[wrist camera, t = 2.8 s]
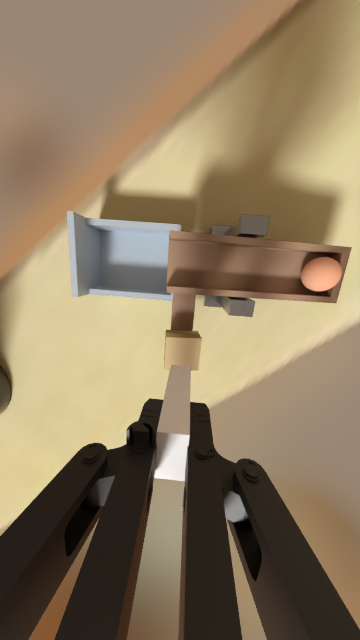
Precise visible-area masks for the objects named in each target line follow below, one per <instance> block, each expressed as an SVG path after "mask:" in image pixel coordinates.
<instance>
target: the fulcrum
mask: <svg viewBox="0 0 360 640" xmlns="http://www.w3.org/2000/svg"><path fill="white" fill-rule="evenodd" d="M268 222H269V216H260V215H246V214H243V215H242V216H241V217H240V218H239V219H238V220H237V221H236V222H235V223H234V224H233V225H232V226H220V225H212V232H211V234H216V235H226V236H237V237H247V238H258V239H259V238H261V237H263V236H265V235H266V234H267V228H268ZM254 305H255V301H253V300H251V299H249V298H246V297H230V296H214V295H205V299H204V306H211V307H222V308H223V309H224V310H225V311H226V312H227V314H228V315H234V316H247V317H252V316H253V310H254Z"/></svg>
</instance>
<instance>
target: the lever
mask: <svg viewBox="0 0 360 640" xmlns="http://www.w3.org/2000/svg"><path fill="white" fill-rule="evenodd" d="M351 248H352V247H341V246H331V245H320V244H310V243H299V242H289V241H279V240H268V239H258V238H247V237H237V236H226V235H216V234H205V233H195V232H184V231H174V230H170V233H169V247H168V265H167V283H166V292H167V293H173V304H172V319H171V330H166V337H165V354H164V370H170V368H171V365H182V366H191V369H190V370H198V367H199V358H200V349H201V339H202V338H201V337H200V335H199V333H198V331H192V329H193V319H194V308H195V297H196V294H198V295H214V296H230V297H246V298H261V299H277V300H293V301H309V302H325V303H336V302H337V299H338V295H339V291H340V288H341V284H342V280H343V277H344V273H345V270H346V266H347V262H348V259H349V255H350V251H351ZM319 257H329V258H332V259H334V260H336V261H337V262H338V263H339V264H340V266H341V268H342V276H341V279H340V280H339V282H338V283H337V284H336V285H335V286H334V287H332V288H330V289H328V290H325V291H313V290H310V289H308V288H306V287H305V286H304V284H303V283H302V281H301V272H302V270H303V268H304V266H305V265H306V264H307V263H308V262H310V261H311V260H313V259H316V258H319Z"/></svg>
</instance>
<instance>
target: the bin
mask: <svg viewBox="0 0 360 640" xmlns="http://www.w3.org/2000/svg"><path fill="white" fill-rule="evenodd" d="M67 221H68V237H69V252H70V268H71V284H72V296H76V297H79V296H83V295H87V294H93V295H106V296H118V297H131V298H143V299H156V300H168V301H173V293H167V292H166V283H167V265H168V247H169V233H170V230H174V231H182V227H181V224H167V223H152V222H138V221H124V220H110V219H95V218H85V217H83V216H81V215H79V214H77V213H75V212H70V211H67Z"/></svg>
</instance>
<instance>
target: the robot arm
mask: <svg viewBox="0 0 360 640" xmlns="http://www.w3.org/2000/svg"><path fill="white" fill-rule="evenodd" d="M190 369H191V366H182V365H171V368H170V373H169V377H168V382H167V387H166V391H165V396H164V400H159V399H149V400H148V401H147V402H146V403H145V404H144V406H143V409H142V412H141V415H140V418H139V420H138V421H137V422H134V423H133V424H131V425H130V426H129V427H128V429H127V444H126V445H124V446H122V447H119V448H115V449H110V450H107V448H106V446H104V445H103V444H101V443H92V444H88V445H86V446H84V447H83V448H82V449H80V450H79V451H78V452H77V453H76V454H75V456H74V457H73V458H72V459H71V460H70V461H69V462H68V463H67V464H66V465H65V466H64V468H63V469H62V470H61V471H60V472H59V473H58V474H57V475H56V476H55V477H54V478H53V480H52V481H51V482H50V483H49V484H48V485H47V486H46V487H45V488H44V489H43V490H42V492H41V493H40V494H39V495H38V496H37V497H36V498H35V499H34V500H33V501H32V502H31V504H30V505H29V506H28V507H27V508H26V509H25V510H24V511H23V512H22V513H21V514H20V516H19V517H18V518H17V519H16V520H15V521H14V522H13V523H12V524H11V525H10V526H9V528H8V529H7V530H6V531H5V532H4V533H3V534H2V535H1V536H0V640H28V639H29V637H30V636H31V634H32V632H33V631H34V629H35V627H36V625H37V624H38V622H39V620H40V618H41V617H42V615H43V613H44V612H45V610H46V608H47V607H48V605H49V603H50V601H51V599H52V598H53V596H54V595H55V593H56V591H57V589H58V587H59V586H60V584H61V582H62V581H63V579H64V577H65V576H66V574H67V572H68V570H69V568H70V567H71V565H72V564H73V562H74V560H75V558H76V557H77V555H78V553H79V552H80V550H81V548H82V546H83V545H84V543H85V541H86V540H87V538H88V536H89V534H90V533H91V531H92V529H93V528H94V526H95V524H96V522H97V521H98V519H99V521H98V524H97V526H96V529H95V532H94V534H93V537H92V540H91V542H90V545H89V548H88V550H87V553H86V556H85V558H84V561H83V564H82V567H81V569H80V572H79V575H78V577H77V580H76V583H75V586H74V588H73V591H72V594H71V597H70V599H69V602H68V605H67V607H66V610H65V613H64V615H63V618H62V621H61V624H60V626H59V629H58V632H57V634H56V637H55V640H127V635H128V629H129V624H130V618H131V612H132V607H133V601H134V595H135V589H136V583H137V578H138V572H139V566H140V561H141V555H142V549H143V543H144V537H145V531H146V526H147V520H148V515H149V509H150V503H151V497H152V492H153V480H154V478H161V479H170V480H178V481H185V487H184V497H183V526H182V552H181V578H180V579H181V580H180V606H179V633H178V640H242V635H241V627H240V619H239V612H238V606H237V605H238V604H237V597H236V591H235V582H234V575H233V568H232V561H231V553H230V545H229V539H228V531H227V523H226V519H227V520H228V524H229V526H230V530H231V533H232V536H233V539H234V542H235V544H236V548H237V550H238V553H239V557H240V560H241V562H242V565H243V569H244V571H245V574H246V578H247V581H248V584H249V587H250V590H251V593H252V595H253V599H254V602H255V605H256V608H257V611H258V614H259V617H260V619H261V623H262V626H263V629H264V632H265V635H266V638H267V640H360V630H359V628H358V626H357V625H356V623H355V621H354V620H353V618H352V616H351V614H350V613H349V611H348V609H347V608H346V606H345V604H344V603H343V601H342V599H341V598H340V596H339V594H338V593H337V591H336V589H335V588H334V586H333V584H332V583H331V581H330V579H329V578H328V576H327V574H326V572H325V571H324V569H323V568H322V566H321V564H320V563H319V561H318V559H317V557H316V556H315V554H314V552H313V551H312V549H311V547H310V546H309V544H308V542H307V541H306V539H305V537H304V536H303V534H302V532H301V530H300V529H299V527H298V525H297V524H296V522H295V520H294V519H293V517H292V515H291V514H290V512H289V510H288V509H287V507H286V505H285V504H284V502H283V500H282V499H281V497H280V495H279V494H278V492H277V490H276V489H275V487H274V485H273V484H272V482H271V480H270V479H269V477H268V475H267V474H266V472H265V471H264V469H263V468H262V467H261V465H259V464H258V463H257V462H255V461H253V460H250V459H240V460H238V462H237V463H234V462H231V461H229V460H227V459H225V458H223V457H222V456H220V455H219V454H218V452H217V451H216V450H215V448H214V444H213V437H212V429H211V423H210V413H209V409H208V407H207V406H206V404H204V403H194V402H190ZM10 397H11V390H10V384H9V381H8V379H7V376H6V374H5V373H4V371H3V370H2V368H1V367H0V414H1V413H2V412H4V410H5V409H6V408H7V406H8V404H9V401H10ZM99 517H100V518H99Z"/></svg>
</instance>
